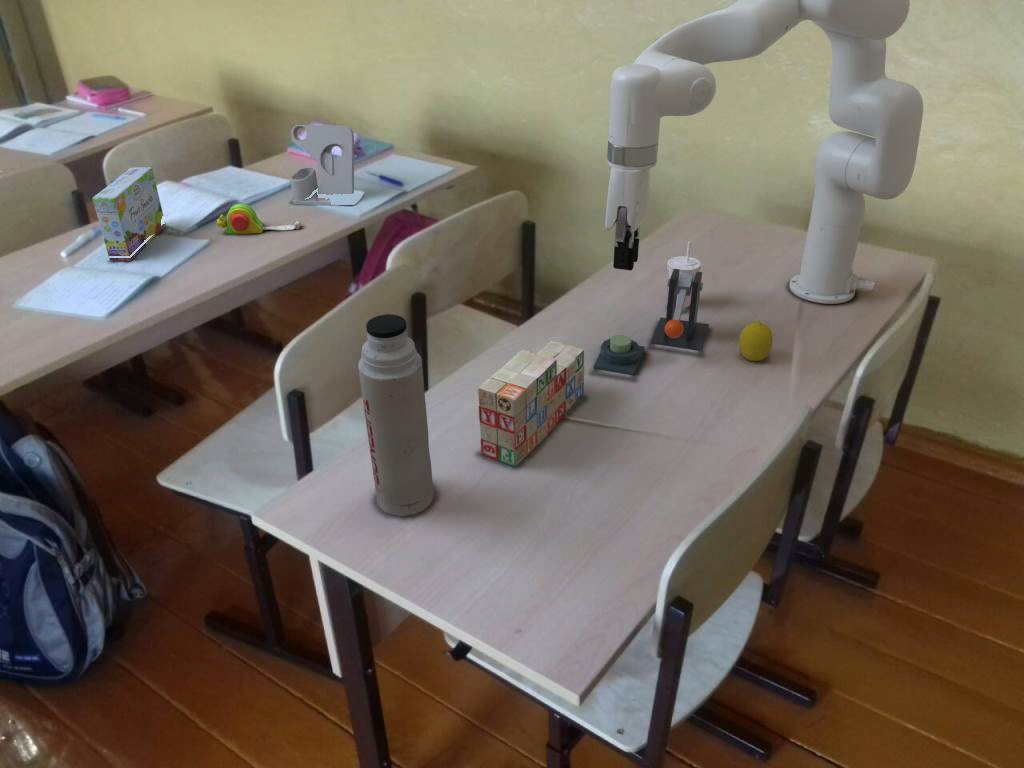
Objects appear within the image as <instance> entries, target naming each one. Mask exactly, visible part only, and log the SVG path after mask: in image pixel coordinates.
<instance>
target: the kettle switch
mask: <svg viewBox="0 0 1024 768" xmlns="http://www.w3.org/2000/svg"><path fill="white" fill-rule="evenodd" d="M692 285H693V275H688V274H680V278H679V282H678V289H677V294H679V297H678V301H677V305H676V309H675V313H674V317H673V320H670V321H668V322H667V323H666V325H665V333H666V335H667V336H668V337H670V338H678V337H680V336H681V335H682V333H683V330H684V327H683V324H682V323H681V322H680V320H681V319H682V314H683V311H684V310H683V309H684V308H683V306H684V302H685V298H686V295H688V296H690V293H691V289H692Z"/></svg>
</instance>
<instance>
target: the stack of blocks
mask: <svg viewBox="0 0 1024 768" xmlns="http://www.w3.org/2000/svg"><path fill="white" fill-rule="evenodd" d="M584 381H585V349H583V348H579V347H576V346H573V345H569V344H568V345H567V344H565V343H562V342H558V341H554V340H550V341H549V342H547V344H545V345H544V346H543V347H542V348H540V349H539V350H538V351H537V352H532V351H529V350H525V349H521V350H520V351H519V352H517V353H516V354H515V355H514V356H513V357H512V358H511V359H510V360H509V361H508V362H507V363H505V364H504V365H503V366H502V367H501V368H499V369H498V370H496V372H494V374H492V375H491V376H490V377H488V378H487V379H486V380H485V381H484V382H483V383H481V384H480V385H479V386H478V388H477V392H478V418H479V419H478V420H479V429H480V431H479V432H480V453H481V455H482V456H485V457H488V458H491V459H493V460H496V461H499V462H501V463H504V464H506V465H509V466H512V467H515V468H516V467H517V466H519V464H520V463H521V462H522V461H523V460H524V459H525V458H526V457H528V456H529V455H530V454H531V453H532V452H533V451H534V449H536V448H537V447H538V445H540V444H541V442H542V441H543V440H544V439H545V438H546V437H547V436H548V434H550V432H551V431H552V430H553V429H554V428H555V427H556V425H557V424H558V423H560V422H561V420H562V419H563V418H564V417H565V416H566V414H564V413H565V412H567V411H568V410H569V409H570V408H571V407H572V406H573V405H574V404H576V402H577V400H578V399H579V398H581V396H582V395H583V394H584V391H585V390H584V389H585V387H584V386H585V382H584Z"/></svg>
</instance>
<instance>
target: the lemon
mask: <svg viewBox="0 0 1024 768" xmlns="http://www.w3.org/2000/svg"><path fill="white" fill-rule="evenodd" d="M773 339H774V338H773V332H772V330H771V328H770V327H769V326H768V325H767V324H765V323H764V322H761V321H760V320H759V321H754V322H750V323H749V324H747V325H745V327H744V328H743V329H742V331H741V333H740V336H739V339H738V349H739V352H740V354H741V355H742V356H743V358H745V359H746V360H747V361H751V362H760V361H762V360H764V359H766V358H767V357H768V356H769V354H770V353H771V351H772V347H773V342H774V340H773Z"/></svg>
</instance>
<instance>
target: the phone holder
mask: <svg viewBox="0 0 1024 768" xmlns="http://www.w3.org/2000/svg"><path fill="white" fill-rule="evenodd" d="M300 129H303V130H304V131H305V132H306V134H305V135H306V136H305V138H302V139H301V138H300V137H299V135H298V132H299V130H300ZM290 134H291V140H292V142H293V144H295V145H296V146H297V147H299V148H300V149H301V150H302V151H304V152H305V153H306V154H307V155H309V156H310V157H311V158H313V159H314V160H315V161H316V162H317V171H316V169H315V168H312V167H304V168H301V169H299V170H297V172H295V173H294V174H293V175H292V176H291V177H290V178H289V180H290V187H291V192H292V201H291V202H292V204H294V205H312V206H331V207H333V205H331V202H330V199H329V198H328V199H327V200H326V199H325V198H318V195H317V192H316V193H315V194H314V195H313V196H312V197H311V198H309V199H306V200H303V199H305V198H307V197H309V196H310V195H311V194H312V192H313V191H314V190H316V189H317V188H318V194H326V195H329V194H330V195H333V194H337V195H338V194H341V195H342V194H353V193H354V190H355V133H354V130H353V129H352V128H351V127H350V126H348V125H347V126H346V125H329V124H327V125H325V124H296V125H294V126H293V127H292V129H291V131H290ZM335 147H338V148H339V149H340V151H341V153H340V156H339V157H335V156H334V155H333V153H332V152H333V151H332V150H333V149H334V148H335ZM328 200H329V201H328ZM334 205H335V204H334ZM335 207H338V206H337V205H336V206H335Z"/></svg>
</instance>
